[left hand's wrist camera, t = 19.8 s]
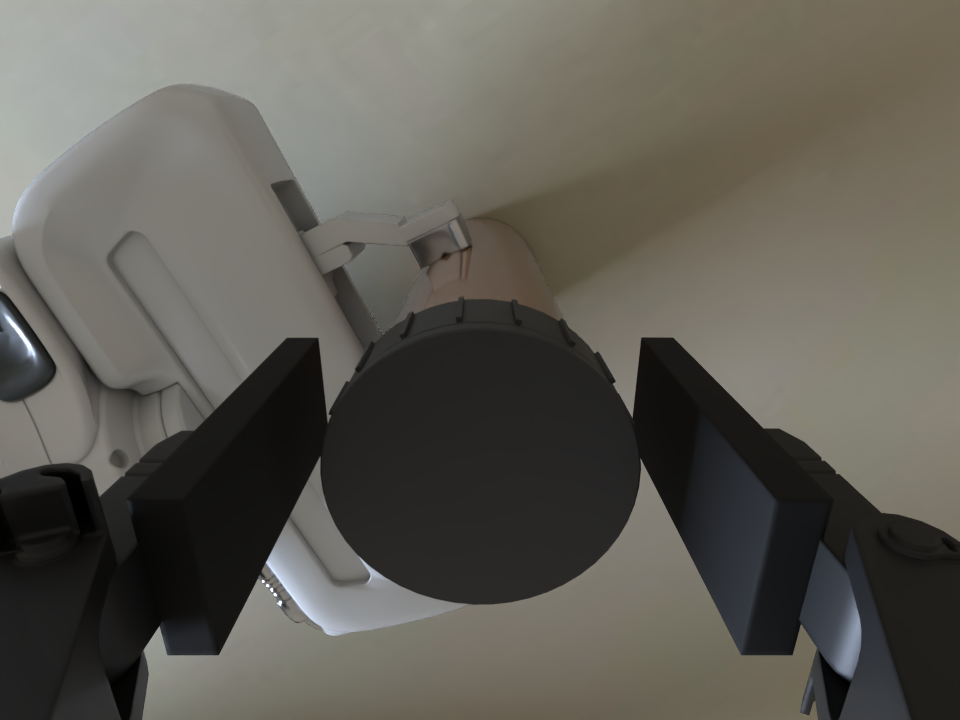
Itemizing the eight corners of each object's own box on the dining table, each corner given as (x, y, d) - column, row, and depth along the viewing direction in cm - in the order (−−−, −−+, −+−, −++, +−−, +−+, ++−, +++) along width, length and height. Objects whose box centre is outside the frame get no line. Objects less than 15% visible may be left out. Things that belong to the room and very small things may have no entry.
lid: (293, 467, 12) (261, 522, 10) (434, 235, 10) (425, 254, 9) (516, 582, 13) (521, 651, 12) (677, 391, 12) (713, 436, 10)
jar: (548, 313, 26) (636, 532, 11) (443, 342, 27) (397, 588, 12) (520, 203, 24) (582, 296, 10) (408, 237, 25) (304, 373, 10)
